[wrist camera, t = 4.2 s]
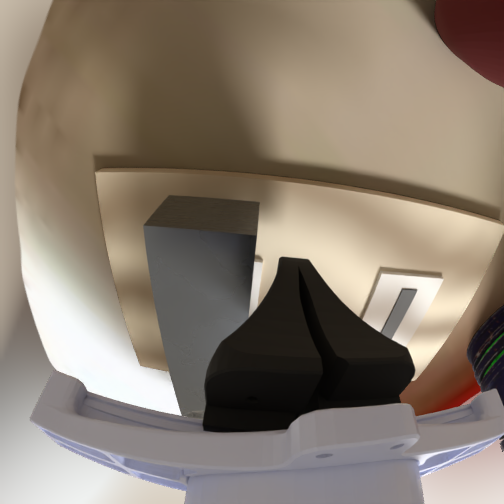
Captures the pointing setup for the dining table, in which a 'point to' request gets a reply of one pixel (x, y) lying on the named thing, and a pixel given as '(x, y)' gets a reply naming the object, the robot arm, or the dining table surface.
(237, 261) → the grey square pillar
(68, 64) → the dining table surface
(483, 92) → the dining table surface
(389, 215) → the label board
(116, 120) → the dining table surface
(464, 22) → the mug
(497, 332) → the storage jar
